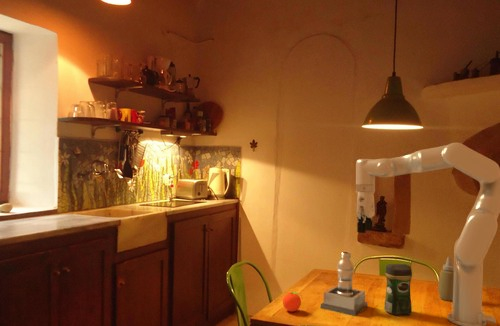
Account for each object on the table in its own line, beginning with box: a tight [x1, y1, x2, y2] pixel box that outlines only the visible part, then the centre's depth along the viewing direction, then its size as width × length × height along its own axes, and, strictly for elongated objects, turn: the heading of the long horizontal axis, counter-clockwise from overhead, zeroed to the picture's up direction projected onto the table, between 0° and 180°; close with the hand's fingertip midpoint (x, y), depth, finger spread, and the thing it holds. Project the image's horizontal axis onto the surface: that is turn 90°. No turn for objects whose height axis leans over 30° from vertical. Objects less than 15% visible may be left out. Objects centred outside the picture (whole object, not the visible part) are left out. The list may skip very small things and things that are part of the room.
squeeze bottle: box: [437, 256, 454, 302], centre depth 182 cm, size 8×8×18 cm
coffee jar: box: [384, 263, 413, 316], centre depth 163 cm, size 10×8×19 cm
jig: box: [320, 285, 368, 317], centre depth 167 cm, size 14×14×6 cm
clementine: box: [282, 292, 303, 313], centre depth 161 cm, size 8×7×7 cm
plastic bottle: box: [336, 251, 355, 297], centre depth 167 cm, size 6×7×20 cm
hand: (364, 231), depth 172 cm, fingers open, 9 cm apart
